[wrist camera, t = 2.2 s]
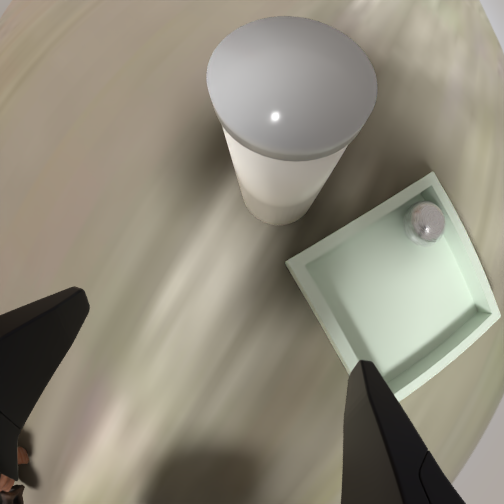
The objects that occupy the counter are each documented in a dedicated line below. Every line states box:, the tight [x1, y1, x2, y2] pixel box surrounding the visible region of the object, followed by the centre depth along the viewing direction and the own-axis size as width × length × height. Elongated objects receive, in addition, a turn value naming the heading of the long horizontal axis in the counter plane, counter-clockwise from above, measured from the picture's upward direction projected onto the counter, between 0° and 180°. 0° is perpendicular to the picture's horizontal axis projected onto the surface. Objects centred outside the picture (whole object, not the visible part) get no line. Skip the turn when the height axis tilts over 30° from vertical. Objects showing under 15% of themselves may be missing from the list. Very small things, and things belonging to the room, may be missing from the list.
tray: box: [285, 171, 501, 402], centre depth 21 cm, size 13×13×3 cm
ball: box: [403, 201, 446, 247], centre depth 20 cm, size 3×3×3 cm
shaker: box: [207, 16, 378, 225], centre depth 16 cm, size 5×5×14 cm
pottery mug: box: [0, 447, 29, 504], centre depth 19 cm, size 12×10×8 cm
